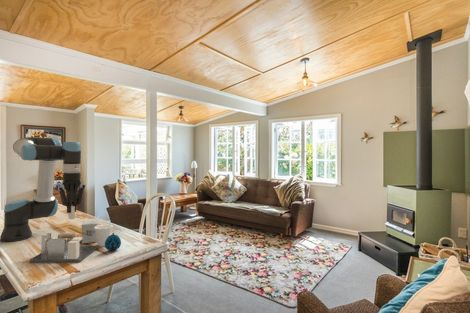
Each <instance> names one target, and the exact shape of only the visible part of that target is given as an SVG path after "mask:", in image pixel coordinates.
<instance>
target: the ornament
mask: <svg viewBox="0 0 470 313" xmlns="http://www.w3.org/2000/svg"><path fill="white" fill-rule="evenodd" d="M121 244H122V239H121V238H120V236H118V234H115V233H114V232H113V233H112V232H111V235H110V236H109V237H108V238H107V239H106V241H105V246H104V247H105V249H106V251H111V252H113V251H117V250H118V249H120V247H121Z"/></svg>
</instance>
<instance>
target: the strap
mask: <svg viewBox="0 0 470 313" xmlns="http://www.w3.org/2000/svg"><path fill="white" fill-rule="evenodd" d="M61 239H67V241H71V240H72V239H73V238H61ZM48 240H49V239H47V242H48ZM82 240H83V239H82ZM82 240H80V242H82Z"/></svg>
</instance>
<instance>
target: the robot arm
mask: <svg viewBox="0 0 470 313" xmlns="http://www.w3.org/2000/svg"><path fill="white" fill-rule="evenodd" d="M81 146H82V144H81V143H80V142H79V141H64V142H63V144H62V142H61V140H60V138H53V137H37V136H36V137H35V136H31V137H30V136H29V137H22V138H19V139H17V140H16V141H14V142H13V144H12V150H13V151H14V153H16V154H17V155H18V156H20V157H21V159H22V160H23V161H29V162H32V161H38V171H37V172H38V173H37V184H36V185H37V186H36V187H37V188H36V195H35V196H34V197H33V200H29V199H28V198H24V199H23V198H21V199H16V200H13V201H9V202H7V203H6V204H4V208H3V214H4V215H3V216H4V217H3V218H4V220H3V222H4V223H3V229H2V232H1V234H0V242H2V243H3V242H4V243H6V242H7V243H11V242H18V241H24V240H27V239H29V238H31V237H32V236H33V231H32V230H31V227H30V224H29V220H34V219H35V220H36V219H44V218H49V217H53V216H55V215H56V214H57V212H58V207H59V200H58V199H57V198H56V196H55V195H54V185H55V174H56V173H55V172H56V163H57V162H58V161H62V172H63V173H62V184H61V185H60V186H58V187H57V188H56V189H57V191H58V192H59V196H60V199H61V204H62V206H65V207H66V213H67V215H68V220H75V217H76V216H75V213H76V212H77V206H78V205H80V204H81V201H82V198H83V194H84V189H86V184H83V183H82V181H81V176H82V175H81V167H82V166H81V162H82V160H81V158H82V151H81V150H82V147H81Z"/></svg>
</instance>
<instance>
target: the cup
mask: <svg viewBox="0 0 470 313" xmlns="http://www.w3.org/2000/svg"><path fill="white" fill-rule="evenodd" d="M94 228H95V233H96V239H97V242H96V243H97V247H105V241H106V239H107V238H108V237H109V236H110V235H112V231H113V224H106V223H105V224H98V226H95V227H94Z"/></svg>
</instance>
